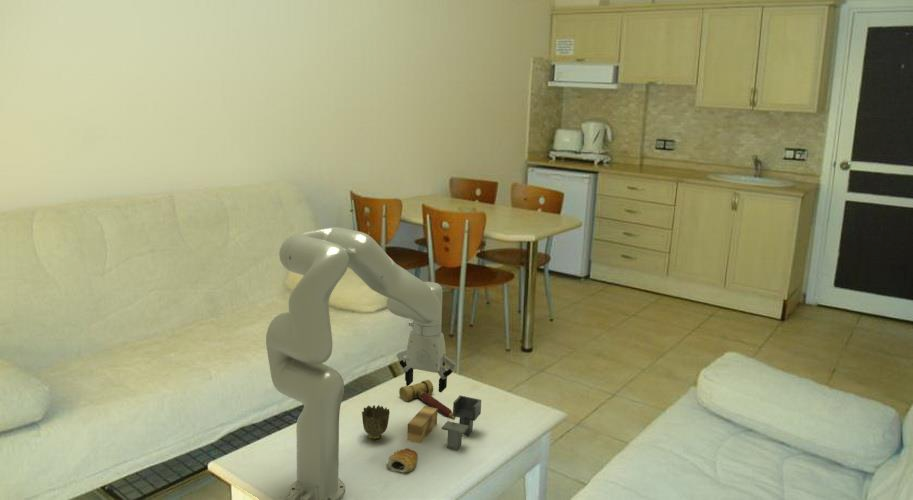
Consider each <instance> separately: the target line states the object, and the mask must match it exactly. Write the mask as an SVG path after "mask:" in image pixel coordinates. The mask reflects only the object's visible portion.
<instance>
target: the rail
mask: <svg viewBox="0 0 913 500" xmlns="http://www.w3.org/2000/svg"><path fill="white" fill-rule="evenodd" d="M437 425H438V408H433V407H431V406H429V405H424V406H423V407H422V408H421V409H420V410H419V411H418V412H417V413H416V414H415V415H414V416H413V417H412V419H411V420H409V422H408V423H407V436H406V441H410V442H414V443H419V444H422V443H423V441H424V440H425V439H426V438H427V437H428V435H429V434H430V433H431V431H432V430H433V429H434V428H435V427H436V426H437Z"/></svg>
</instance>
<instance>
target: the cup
mask: <svg viewBox="0 0 913 500" xmlns="http://www.w3.org/2000/svg"><path fill="white" fill-rule="evenodd" d="M390 414H391V413H390V408H388V407H384V406H383V405H381V406H380V405H379V404H378V405H377V406H376V405H375V404H374V405H372V406H371V405H368V406H366V407H363V411H361V415H362V417H361V418H362V424H363V430H364V432H366V433H367V434H368V439H370V440H371V441H379V440H380V439H382V437H383V434H384V433H385V432H386V431H387V428H388V425H389V419H390Z"/></svg>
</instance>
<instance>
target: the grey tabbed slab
mask: <svg viewBox="0 0 913 500" xmlns="http://www.w3.org/2000/svg"><path fill="white" fill-rule="evenodd" d="M467 429H468V425H463V424H459V422H458V423H457V422H455V421H454V422H453V421H450V420H447V421H446V422H445V423H444V425H442V426H441V430H443V431H447V438H446V449H448V450H452V451H457V452H458V450H460V448H461V447H462V442H463V435H462V434H464V432H465V431H466V430H467Z"/></svg>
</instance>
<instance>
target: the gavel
mask: <svg viewBox="0 0 913 500" xmlns="http://www.w3.org/2000/svg"><path fill="white" fill-rule="evenodd" d="M398 392H399V398H400V399H401V400H402V401H403V402H410V401H412V400H414V399H416V398H420V399H421V400H422V401H423V402H424V403H426V405H427V404H428V405H427V406H429V407H433V408H438V411H437V413H439V414H441V415H442V416H444V417H446V418H449V419H453V420H454V419H456V417H454V416H453V410H451V408H449V407H448V406H446V405H444V404H443V403H442V402H440V401H439V400H438V399H436V398H435V397H433V396H432V394H433V393H434V384H433V382H432V381H431V380H429V379H426V380H421V381H420V382H418V383H415V384H410V385H408V386H407V385H403V386H401V387H400V388H399V390H398Z"/></svg>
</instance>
